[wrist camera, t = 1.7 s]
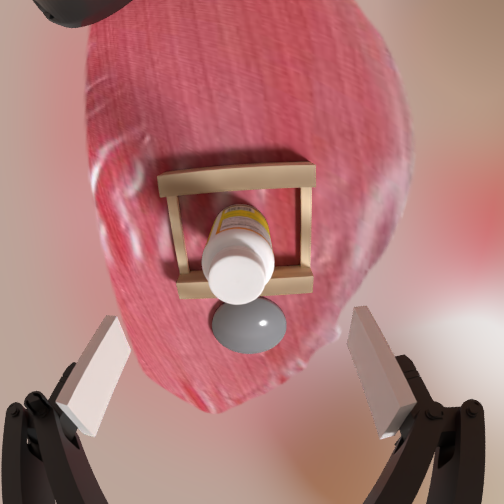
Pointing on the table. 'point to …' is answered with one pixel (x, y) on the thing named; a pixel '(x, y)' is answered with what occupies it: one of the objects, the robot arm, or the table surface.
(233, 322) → the coaster
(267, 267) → the supplement bottle
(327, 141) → the table surface
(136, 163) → the table surface
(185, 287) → the open wooden frame
